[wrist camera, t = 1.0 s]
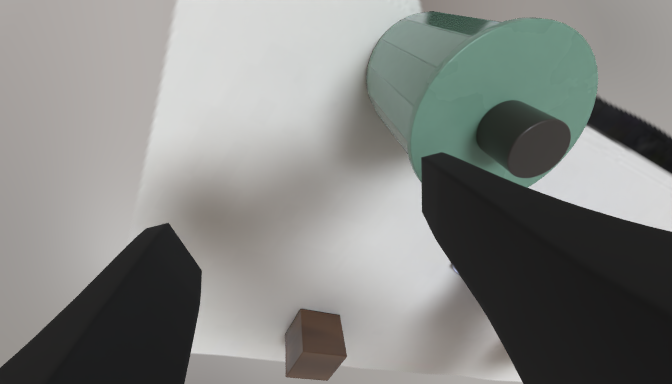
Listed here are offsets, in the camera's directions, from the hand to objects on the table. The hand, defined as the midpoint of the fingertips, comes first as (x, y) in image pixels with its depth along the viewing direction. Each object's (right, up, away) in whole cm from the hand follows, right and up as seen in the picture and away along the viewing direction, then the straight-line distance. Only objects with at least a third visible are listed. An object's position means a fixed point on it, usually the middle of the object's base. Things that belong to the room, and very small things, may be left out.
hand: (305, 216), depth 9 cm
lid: (+7, +4, +3) cm, 8 cm away
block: (-1, -12, +21) cm, 24 cm away
